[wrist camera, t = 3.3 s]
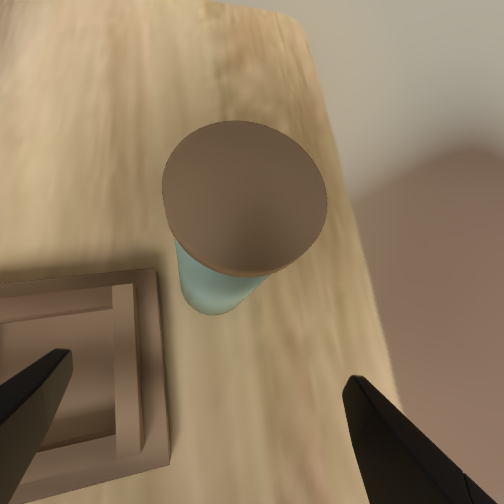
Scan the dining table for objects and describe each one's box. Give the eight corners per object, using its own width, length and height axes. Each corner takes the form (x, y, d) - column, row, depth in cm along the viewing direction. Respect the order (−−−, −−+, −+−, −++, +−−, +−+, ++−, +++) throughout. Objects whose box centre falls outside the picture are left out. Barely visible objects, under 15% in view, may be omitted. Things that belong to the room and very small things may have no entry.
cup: (193, 329, 21) (201, 297, 8) (167, 263, 22) (137, 139, 9) (259, 301, 23) (354, 235, 10) (232, 240, 24) (284, 108, 11)
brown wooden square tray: (170, 455, 18) (167, 475, 15) (-63, 516, 15) (-119, 553, 13) (157, 272, 22) (152, 261, 19) (-36, 293, 19) (-76, 284, 16)
